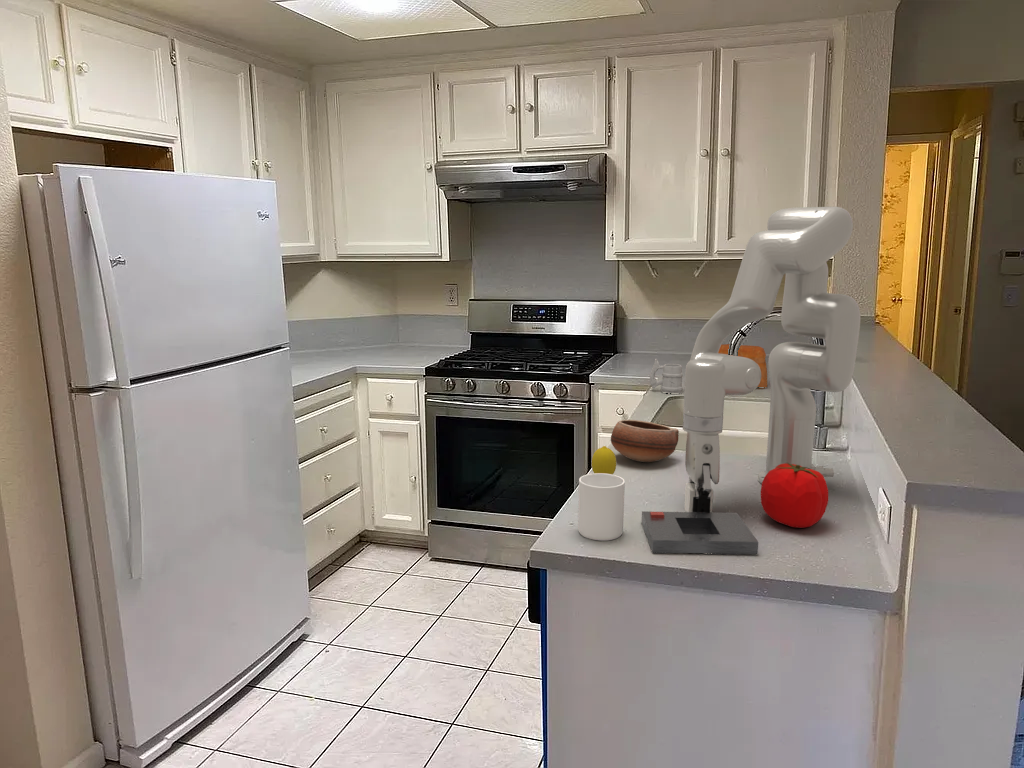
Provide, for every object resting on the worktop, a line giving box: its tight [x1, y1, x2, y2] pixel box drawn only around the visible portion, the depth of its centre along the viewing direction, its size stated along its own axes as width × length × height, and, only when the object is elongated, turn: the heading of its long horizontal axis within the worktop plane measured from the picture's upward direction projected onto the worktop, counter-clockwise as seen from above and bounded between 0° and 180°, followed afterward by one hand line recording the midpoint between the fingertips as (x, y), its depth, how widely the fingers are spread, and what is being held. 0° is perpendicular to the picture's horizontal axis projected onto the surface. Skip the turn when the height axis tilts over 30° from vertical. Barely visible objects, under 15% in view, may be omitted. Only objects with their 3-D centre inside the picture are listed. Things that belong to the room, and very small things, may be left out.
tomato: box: [760, 462, 829, 529], centre depth 144 cm, size 12×13×12 cm
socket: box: [641, 511, 759, 555], centre depth 136 cm, size 18×14×3 cm
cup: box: [577, 472, 626, 542], centre depth 140 cm, size 8×12×10 cm
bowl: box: [610, 419, 680, 463], centre depth 184 cm, size 16×16×10 cm
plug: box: [683, 479, 714, 512], centre depth 148 cm, size 4×4×8 cm
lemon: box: [591, 445, 617, 475], centre depth 169 cm, size 6×6×8 cm
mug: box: [649, 358, 684, 394], centre depth 267 cm, size 8×12×12 cm, turn 78°
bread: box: [718, 343, 768, 388], centre depth 283 cm, size 14×27×15 cm, turn 72°
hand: (698, 511), depth 149 cm, fingers closed on plug, 4 cm apart
